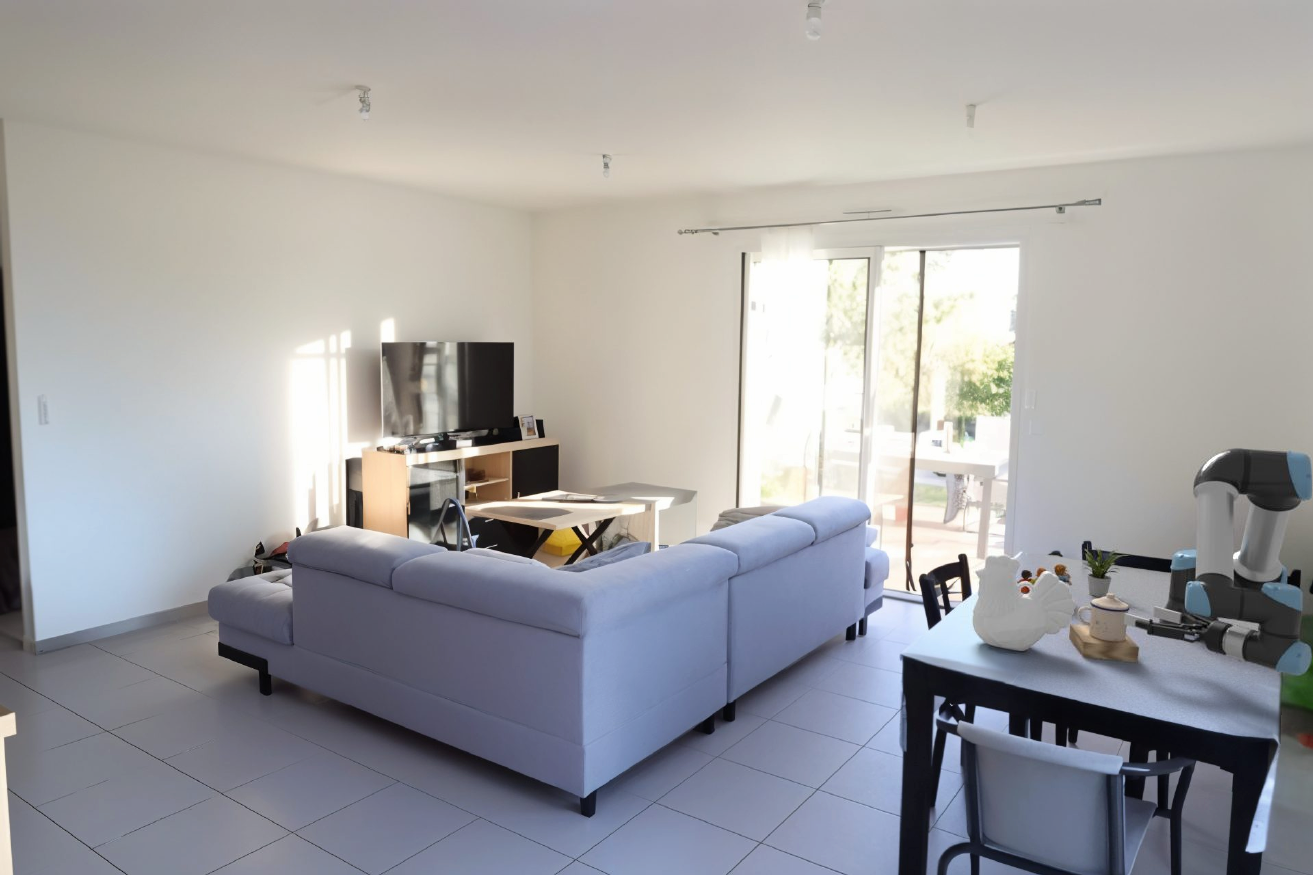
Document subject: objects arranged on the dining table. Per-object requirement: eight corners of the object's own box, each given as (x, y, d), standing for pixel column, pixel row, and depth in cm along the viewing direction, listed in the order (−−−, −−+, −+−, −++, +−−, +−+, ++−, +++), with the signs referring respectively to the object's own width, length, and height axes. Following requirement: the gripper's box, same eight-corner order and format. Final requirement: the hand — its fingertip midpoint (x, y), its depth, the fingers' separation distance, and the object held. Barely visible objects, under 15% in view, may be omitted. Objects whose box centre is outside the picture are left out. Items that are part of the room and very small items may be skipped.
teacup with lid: (1125, 634, 229) (1129, 592, 228) (1127, 644, 221) (1131, 600, 220) (1076, 627, 234) (1079, 585, 233) (1075, 636, 226) (1079, 593, 225)
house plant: (1128, 594, 284) (1132, 545, 283) (1125, 603, 273) (1129, 553, 271) (1080, 586, 292) (1084, 539, 290) (1075, 595, 280) (1079, 547, 279)
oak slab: (1120, 643, 234) (1121, 628, 234) (1137, 662, 220) (1138, 647, 219) (1069, 638, 237) (1070, 624, 237) (1082, 656, 223) (1084, 641, 222)
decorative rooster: (968, 650, 225) (974, 557, 223) (972, 632, 240) (978, 545, 237) (1073, 666, 215) (1081, 570, 213) (1071, 647, 230) (1078, 557, 227)
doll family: (1064, 599, 276) (1068, 559, 275) (1088, 607, 267) (1091, 566, 266) (1011, 603, 270) (1014, 562, 268) (1033, 612, 261) (1036, 570, 259)
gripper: (1200, 664, 196) (1110, 636, 214) (1254, 647, 209) (1165, 622, 227) (1203, 632, 195) (1113, 607, 213) (1257, 617, 208) (1167, 594, 226)
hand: (1139, 614), depth 220 cm, fingers open, 13 cm apart
